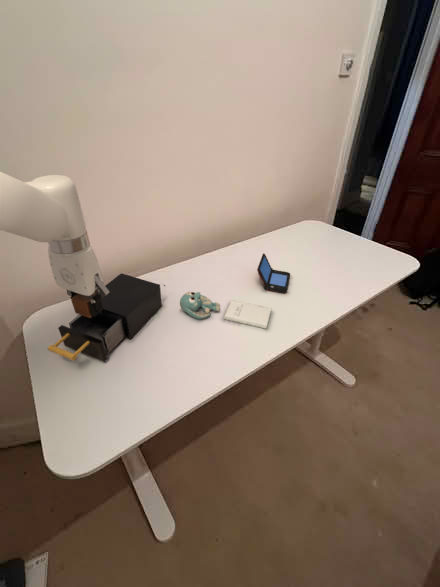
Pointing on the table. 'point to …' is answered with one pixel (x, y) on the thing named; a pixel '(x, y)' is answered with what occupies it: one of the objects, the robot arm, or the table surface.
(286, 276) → the handheld console
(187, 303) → the stuffed animal
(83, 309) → the block
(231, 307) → the hard drive
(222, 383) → the table surface
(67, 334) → the drawer
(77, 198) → the robot arm
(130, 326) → the cabinet
